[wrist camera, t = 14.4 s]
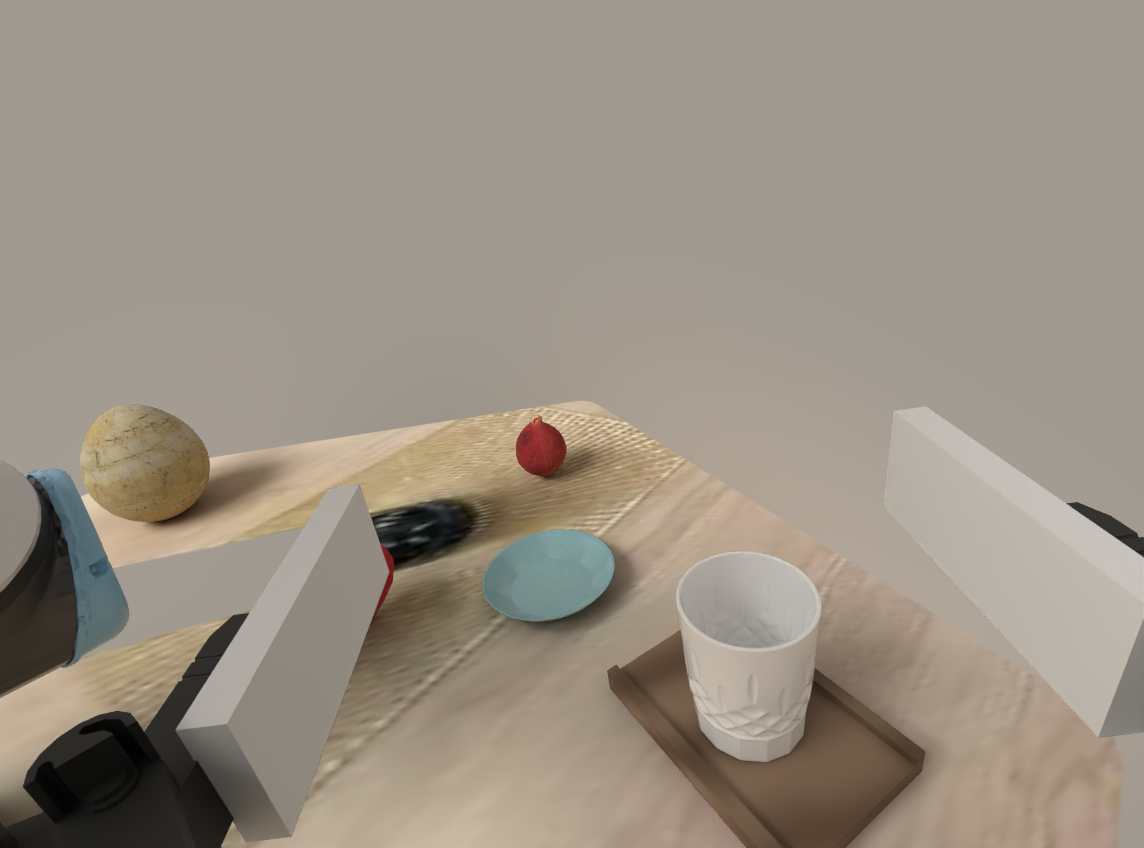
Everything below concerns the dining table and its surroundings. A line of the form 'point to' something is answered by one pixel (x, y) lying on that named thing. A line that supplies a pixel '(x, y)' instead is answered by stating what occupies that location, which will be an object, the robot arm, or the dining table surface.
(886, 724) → the walnut board
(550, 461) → the red rounded fruit
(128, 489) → the fossilized egg
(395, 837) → the dining table surface
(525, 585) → the saucer
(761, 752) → the white cup
